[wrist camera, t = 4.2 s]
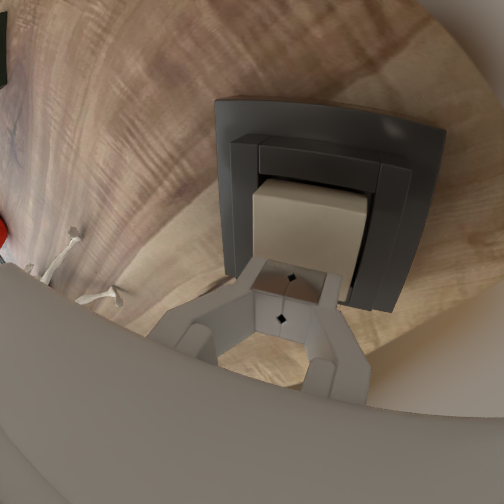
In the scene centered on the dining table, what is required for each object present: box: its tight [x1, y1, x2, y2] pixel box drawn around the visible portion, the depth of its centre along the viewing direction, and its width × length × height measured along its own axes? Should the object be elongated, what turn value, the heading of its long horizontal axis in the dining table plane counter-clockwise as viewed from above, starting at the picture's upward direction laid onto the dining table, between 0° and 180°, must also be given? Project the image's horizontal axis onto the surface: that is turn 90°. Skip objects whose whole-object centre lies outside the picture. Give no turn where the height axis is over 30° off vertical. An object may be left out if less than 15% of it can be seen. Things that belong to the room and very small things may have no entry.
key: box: [253, 178, 367, 302], centre depth 11 cm, size 4×4×2 cm
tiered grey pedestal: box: [215, 96, 446, 313], centre depth 13 cm, size 10×10×4 cm
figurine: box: [24, 227, 123, 307], centre depth 31 cm, size 9×10×25 cm
